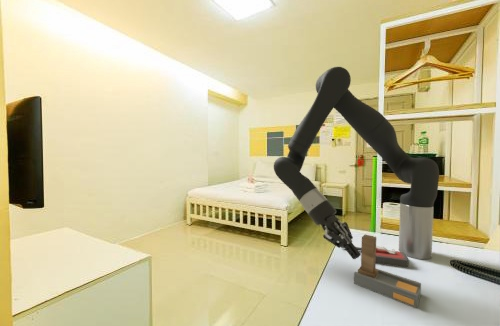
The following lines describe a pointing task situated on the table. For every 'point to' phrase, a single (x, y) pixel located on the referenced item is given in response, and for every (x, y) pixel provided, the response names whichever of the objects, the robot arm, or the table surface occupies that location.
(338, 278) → the table surface
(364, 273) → the brown wooden block
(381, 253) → the walkie-talkie
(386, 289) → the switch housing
